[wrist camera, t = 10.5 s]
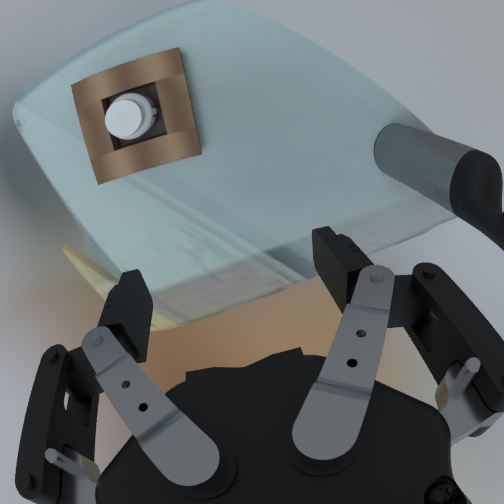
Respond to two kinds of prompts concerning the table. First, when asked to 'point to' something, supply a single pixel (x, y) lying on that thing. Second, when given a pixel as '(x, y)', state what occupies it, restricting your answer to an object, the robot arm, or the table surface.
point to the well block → (152, 141)
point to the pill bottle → (131, 115)
